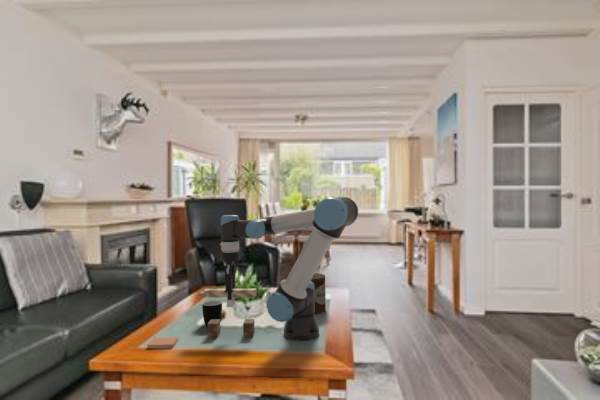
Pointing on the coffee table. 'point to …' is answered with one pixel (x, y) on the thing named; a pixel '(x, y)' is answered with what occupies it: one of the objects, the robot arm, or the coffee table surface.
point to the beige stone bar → (221, 293)
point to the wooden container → (319, 293)
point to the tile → (163, 342)
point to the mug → (211, 310)
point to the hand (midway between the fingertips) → (230, 305)
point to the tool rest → (215, 328)
